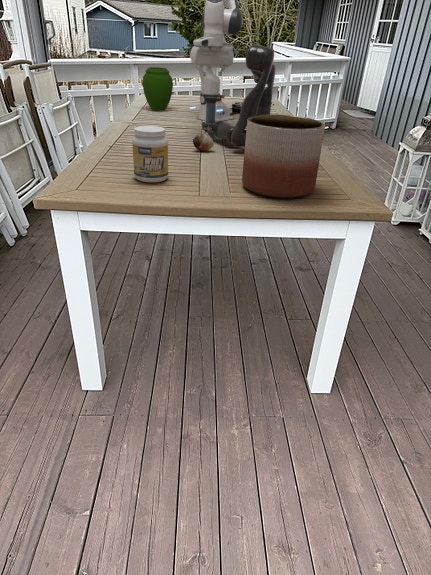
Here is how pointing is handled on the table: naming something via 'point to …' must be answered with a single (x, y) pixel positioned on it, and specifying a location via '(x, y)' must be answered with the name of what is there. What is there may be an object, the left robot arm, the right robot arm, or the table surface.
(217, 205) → the table surface
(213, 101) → the lid
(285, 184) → the planter
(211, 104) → the dark gray cylinder
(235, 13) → the left robot arm
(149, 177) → the supplement tub
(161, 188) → the table surface
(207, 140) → the seashell
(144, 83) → the vase
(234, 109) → the sign
